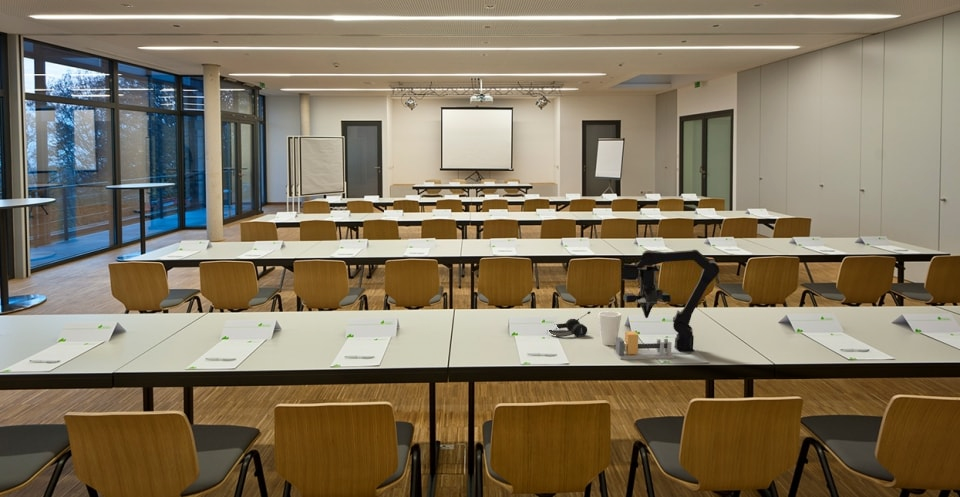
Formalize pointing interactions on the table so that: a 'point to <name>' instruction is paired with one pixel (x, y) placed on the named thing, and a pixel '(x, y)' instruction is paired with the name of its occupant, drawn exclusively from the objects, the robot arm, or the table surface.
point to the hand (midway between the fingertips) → (646, 317)
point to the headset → (571, 328)
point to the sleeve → (631, 342)
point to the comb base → (644, 351)
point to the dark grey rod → (646, 346)
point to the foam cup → (609, 326)
